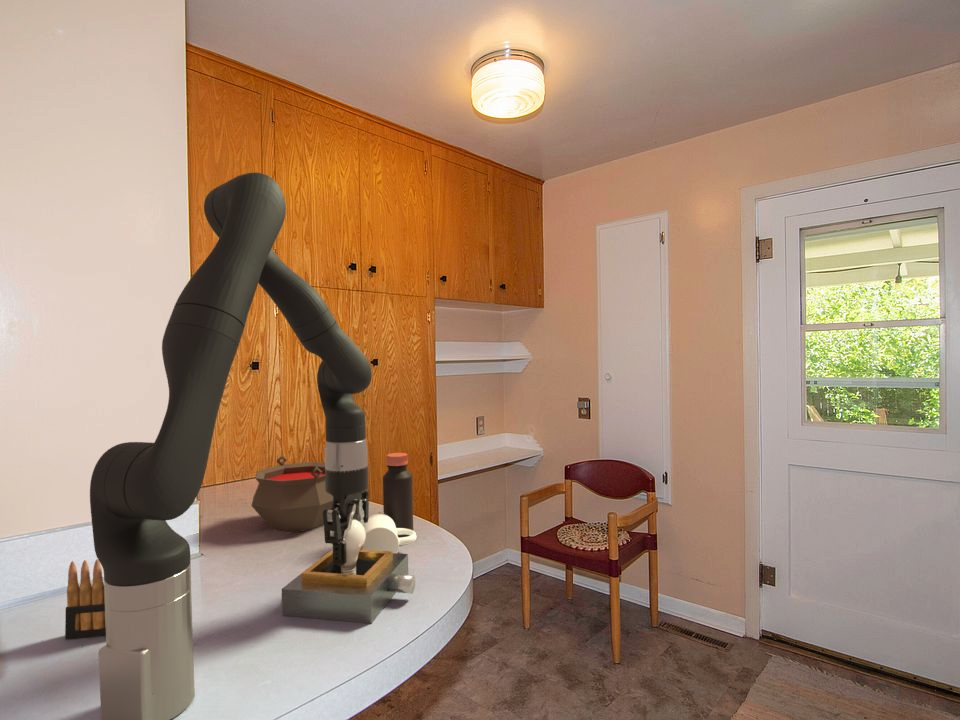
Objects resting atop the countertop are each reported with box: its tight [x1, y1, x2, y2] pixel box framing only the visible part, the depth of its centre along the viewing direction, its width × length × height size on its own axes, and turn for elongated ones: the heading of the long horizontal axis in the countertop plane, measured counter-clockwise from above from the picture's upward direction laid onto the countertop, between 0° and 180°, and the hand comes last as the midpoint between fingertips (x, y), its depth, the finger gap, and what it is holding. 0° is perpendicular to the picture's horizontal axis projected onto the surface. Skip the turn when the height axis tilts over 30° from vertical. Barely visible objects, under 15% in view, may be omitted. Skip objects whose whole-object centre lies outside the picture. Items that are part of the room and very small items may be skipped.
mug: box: [361, 512, 417, 553], centre depth 116 cm, size 12×10×8 cm
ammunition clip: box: [64, 558, 106, 641], centre depth 86 cm, size 11×2×12 cm, turn 99°
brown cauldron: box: [251, 454, 333, 533], centre depth 139 cm, size 24×24×16 cm
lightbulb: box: [329, 519, 366, 575], centre depth 98 cm, size 6×6×11 cm
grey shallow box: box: [281, 548, 416, 625], centre depth 97 cm, size 18×20×6 cm
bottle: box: [382, 452, 414, 538], centre depth 125 cm, size 7×7×20 cm
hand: (348, 556), depth 98 cm, fingers closed on lightbulb, 6 cm apart
